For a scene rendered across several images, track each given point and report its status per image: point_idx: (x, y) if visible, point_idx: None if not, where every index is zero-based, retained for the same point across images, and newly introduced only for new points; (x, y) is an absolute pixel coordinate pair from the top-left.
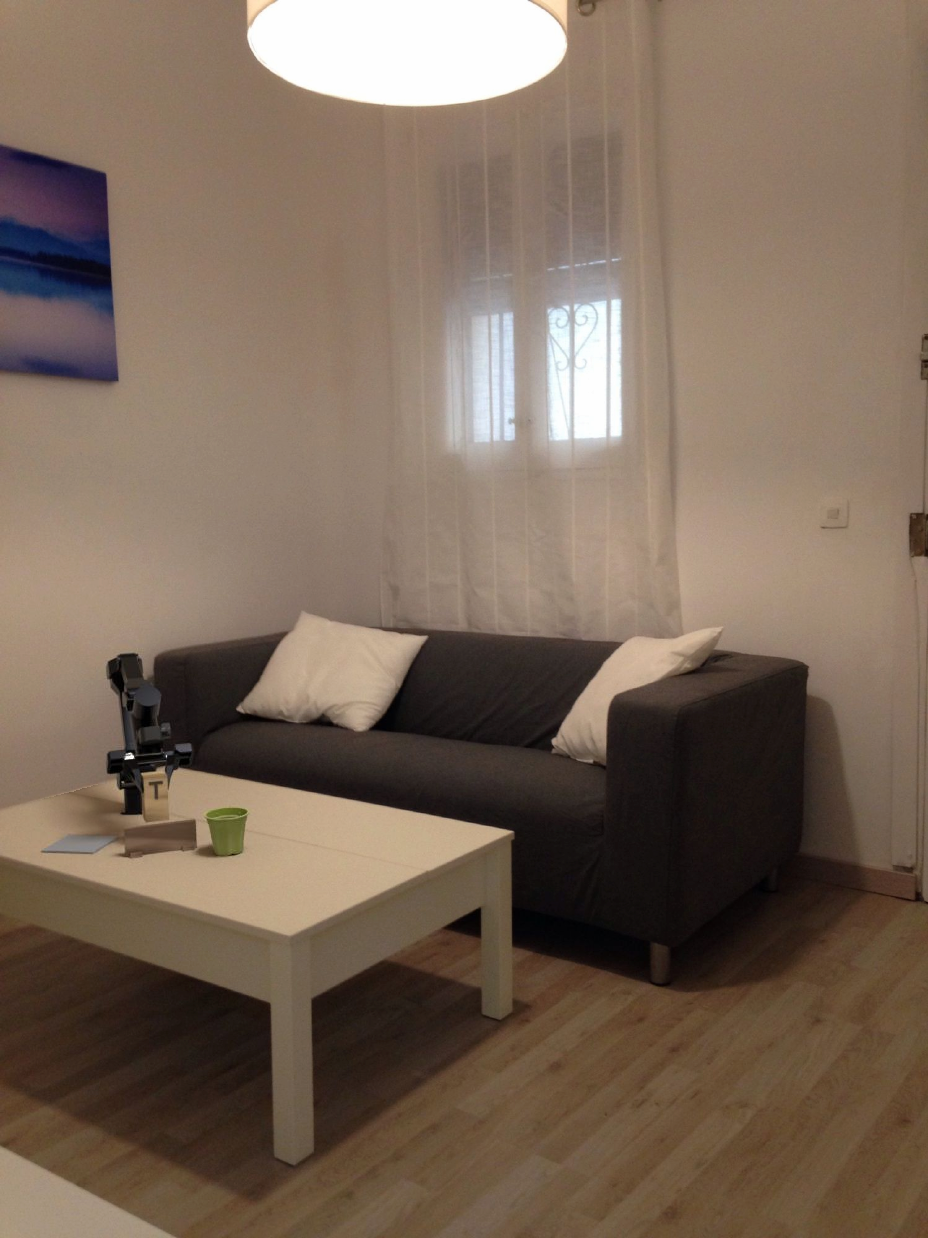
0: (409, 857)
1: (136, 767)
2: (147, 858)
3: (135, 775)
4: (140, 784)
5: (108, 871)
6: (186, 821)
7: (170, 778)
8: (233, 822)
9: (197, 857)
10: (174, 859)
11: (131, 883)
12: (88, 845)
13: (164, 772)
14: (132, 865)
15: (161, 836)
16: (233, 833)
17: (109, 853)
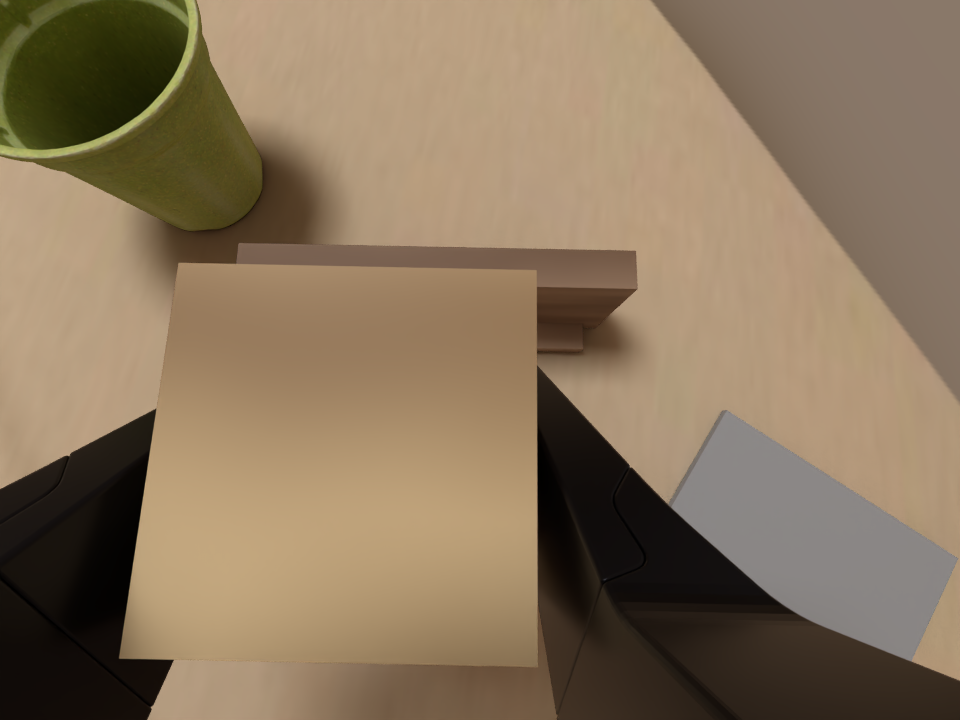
0: None
1: (672, 623)
2: (515, 247)
3: (647, 487)
4: (555, 400)
5: (672, 160)
6: (289, 250)
7: (152, 411)
8: None
9: (336, 171)
10: (421, 187)
11: (607, 6)
12: (745, 531)
13: (151, 491)
14: (581, 188)
15: None
16: (139, 40)
17: (654, 389)
